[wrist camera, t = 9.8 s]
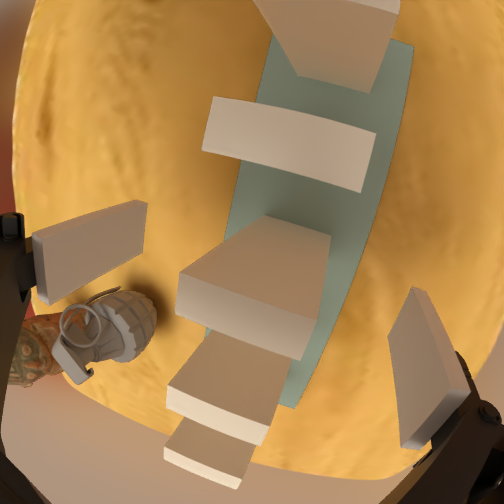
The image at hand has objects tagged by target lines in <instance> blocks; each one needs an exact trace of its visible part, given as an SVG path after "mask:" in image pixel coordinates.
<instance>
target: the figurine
mask: <svg viewBox="0 0 504 504" xmlns="http://www.w3.org/2000/svg"><path fill="white" fill-rule="evenodd" d="M75 310H76V309H73V310H70V311H68V312H67V314H66V315H65V317H64V321H63V325H64V323H65V322H66V321H67V319H68V318H69V317H70V316H71V314H72V313H73V312H74V311H75ZM86 312H87V309H85V308H82V309H81V310H80V311H78V312H77V313H76V314H75V315H74V316H73V317H72V319H71V321H70V323H69V325H68V328H69V327H70V325H71V324H72V323H73V322H75V324H76V325H77V326H78V327H79V328H80V329H81V331H82V332H83V331H84V329H85V327H86V326H87V325H86V321H85V316H86ZM62 313H63V312H60V313H54V314H44V315H37V316H33V317H31V318H28V319H25V320H24V321H23V324H22V327H21V331H20V334H19V338H18V341H17V345H16V349H15V353H14V357H13V361H12V365H11V370H10V374H9V379H8V384H9V385H20V386H22V387H24V388H25V387H30V386H32V384H33V382H35V381H36V380H38V379H40V378H41V377H43V376H45V375H46V374H48V375H56V374H59V373H61V372H63V371H64V370H63V368H62V367H61V366H60V364H59V363H58V362H57V361H56V359H55V358H54V357H53V355H52V348H53V345H54V344H55V342H56V340H57V338H58V336H59V334H60V331H61V330H60V317H61V314H62ZM68 328H67V329H68ZM66 331H67V330H66Z"/></svg>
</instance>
